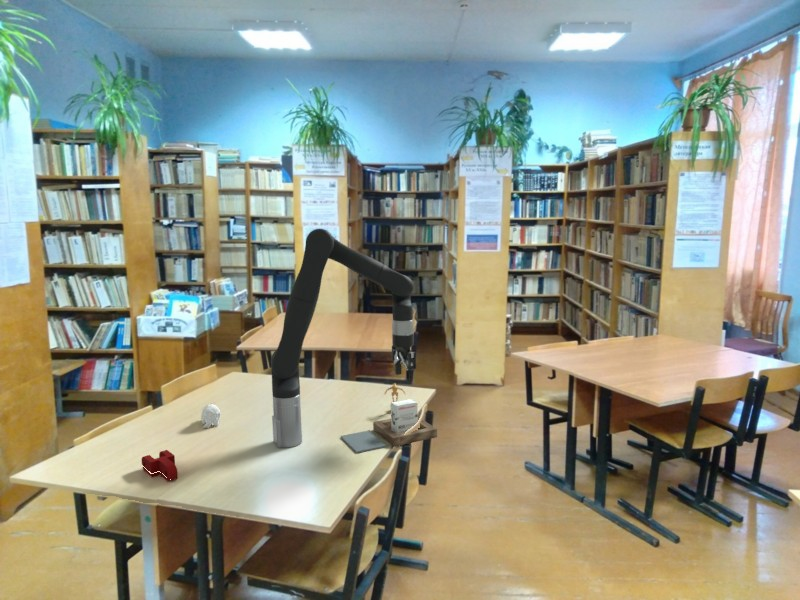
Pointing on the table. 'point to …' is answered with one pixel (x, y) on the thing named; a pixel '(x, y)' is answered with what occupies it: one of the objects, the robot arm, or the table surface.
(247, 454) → the table surface
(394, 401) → the figurine
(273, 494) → the table surface
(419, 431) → the holder
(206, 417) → the white domed ornament
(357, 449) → the mat
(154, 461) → the dark red block
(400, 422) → the ink box
